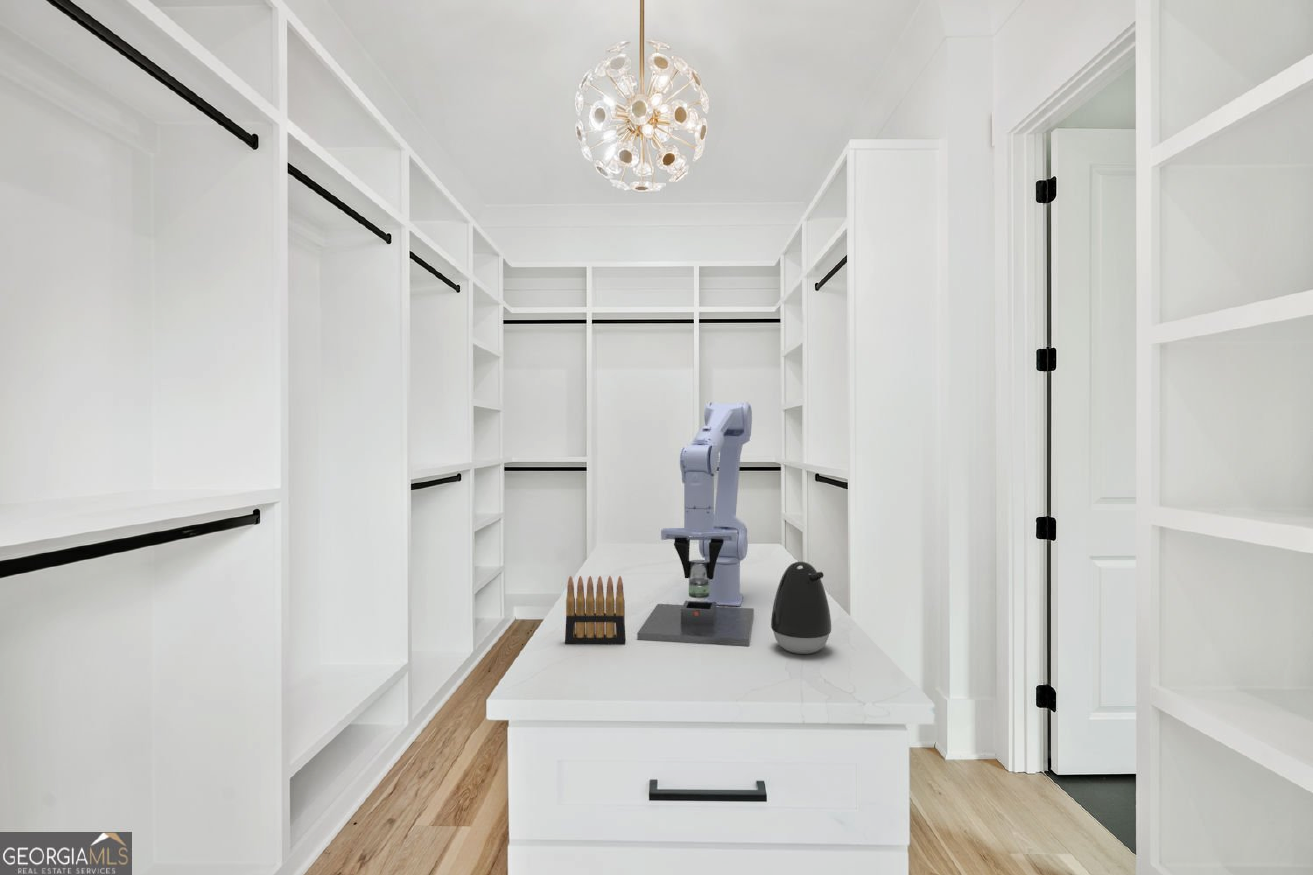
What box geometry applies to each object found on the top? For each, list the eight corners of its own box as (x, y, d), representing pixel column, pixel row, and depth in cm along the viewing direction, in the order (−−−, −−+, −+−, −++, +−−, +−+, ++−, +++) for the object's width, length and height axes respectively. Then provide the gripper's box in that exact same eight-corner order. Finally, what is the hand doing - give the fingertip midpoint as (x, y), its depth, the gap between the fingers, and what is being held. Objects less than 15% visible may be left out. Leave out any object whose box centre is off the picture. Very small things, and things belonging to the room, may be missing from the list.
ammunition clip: (564, 644, 119) (564, 577, 119) (566, 641, 121) (566, 574, 121) (625, 644, 119) (625, 577, 119) (625, 641, 121) (625, 574, 121)
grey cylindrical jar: (690, 592, 132) (690, 559, 132) (710, 593, 131) (710, 560, 131) (687, 597, 128) (687, 563, 128) (708, 598, 127) (708, 564, 127)
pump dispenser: (797, 663, 109) (797, 570, 109) (759, 645, 119) (759, 559, 118) (845, 653, 114) (845, 564, 114) (804, 636, 123) (805, 553, 123)
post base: (657, 609, 141) (657, 590, 141) (753, 614, 138) (753, 594, 138) (637, 639, 122) (637, 617, 122) (748, 646, 118) (748, 623, 118)
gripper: (658, 508, 127) (658, 580, 127) (735, 510, 124) (735, 584, 124) (664, 504, 134) (664, 572, 134) (738, 506, 131) (738, 575, 131)
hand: (699, 577), depth 130 cm, fingers closed on grey cylindrical jar, 4 cm apart
